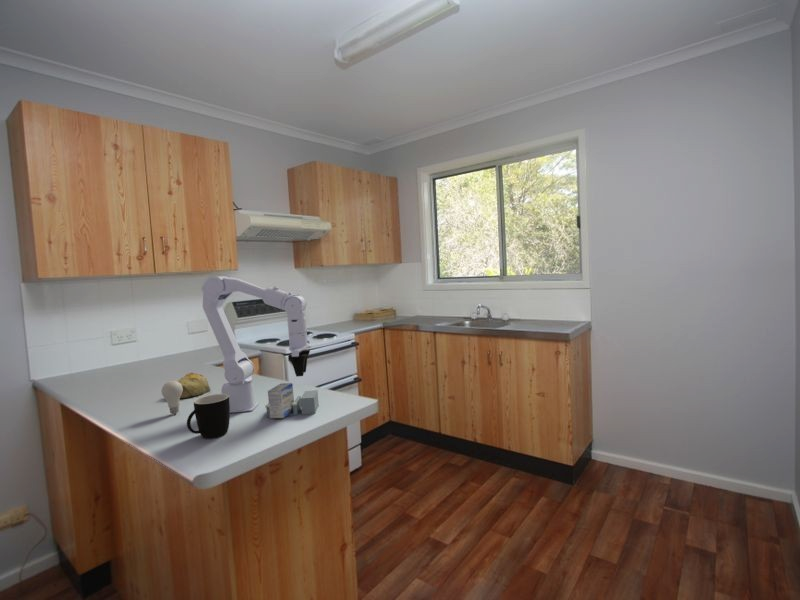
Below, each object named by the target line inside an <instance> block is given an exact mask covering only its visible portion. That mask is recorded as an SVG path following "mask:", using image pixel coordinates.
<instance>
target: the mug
mask: <svg viewBox="0 0 800 600" xmlns="http://www.w3.org/2000/svg"><path fill="white" fill-rule="evenodd" d="M193 408H194V409H193V411H191V413H189V415H188V417H187V419H186V427H187V429H188V431H189V432H190V433H192V434H197V435H198V434H200V436H201V437H202V438H203V439H207V440H209V439H210V440H211V439H216V438H221V437H222V436H225V435H226V434H227V433H228V431H229V428H230V417H231V416H230V415H231V414H230V403H229V396H228V395H227V394H221V393H217V394H215V393H214V394H209V395H204V396H201V397H198V398H196V399H195V400H194V401H193ZM194 416H195V421H196V424H197V428H198V430H195V429H193V428H192V424H191V423H192V419H193V417H194Z"/></svg>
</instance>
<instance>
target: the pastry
mask: <svg viewBox="0 0 800 600" xmlns="http://www.w3.org/2000/svg"><path fill="white" fill-rule="evenodd" d="M177 382H179V383H180V384H181V385H182V387H183V392H182V394H181V397H180V399H187V398H188V399H189V398H192V397H195V396H200V395H201V396H202V395H204V394H207V393H209V392H210V391H211V387H210V385H209V381H208V380H207V377H204V375H203V374H198V373H194V372H189V373H186V374H185V375H184V376H182V377H181V378H180V379H178V380H177Z"/></svg>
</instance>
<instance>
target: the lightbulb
mask: <svg viewBox="0 0 800 600" xmlns="http://www.w3.org/2000/svg"><path fill="white" fill-rule="evenodd" d="M182 392H183V387H182V385H181V384H180V383H179V382H178V380H170V381H167V382H166V383H164V384H163V385H162V387H161V395H162V397H163V398H164V399H165V400H166V403H167V405H168V406H167V407H168V408H169V413H170V414H172V415H177V413H179V412H180V408H179V407H180V399H181V398H180V397H181V394H182Z"/></svg>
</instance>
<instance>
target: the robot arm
mask: <svg viewBox="0 0 800 600" xmlns="http://www.w3.org/2000/svg"><path fill="white" fill-rule="evenodd" d="M201 291H202V292H203V293H202V308H203V311H204V313H205V316H206V318H207V320H208V322H209V325H210V327H211V330H212V331H213V334H214V337H215V338H216V342H217V343H218V346H219V348H220V350H221V352H222V355H223V357H224V359H223V363H222V366H223V369H224V379H225V380H226V382H225V383H223V384H222V386H221V393H220V394H227V395H228V396H229V403H230V413H242V412H243V413H244V412H245V413H246V412H252V411H253V410H254V409H255V408H256V407H257V406H258V405H259V402H257V401H255V395H254V394H255V391H254V384H253V383H254V381H253V378H252V375H253V374H254V372H255V364H254V363H253V361H252V360H250V359H249V357H248V355H247V354H246V353H245V352H244V351H242V349H241V347H240V344H239V343H238V341H237V338H236V336H235V334H234V332H233V329H232V327H231V324H230V322H229V320H228V318H227V316H226V312H225V311H224V308H223V305H224V304H225V302H226V300H227V298H228V297H230V296H231V295H232V294H233V293H235V292H240V293H242V294H247V295H250V296H253V297H255V298H260V299H262V301H263V303H264V304H265V305H268V306H271V307H274V308H275V309H276V308H277V309H279V310H282V311H284V312H286V316H287V327H288V329H287V330H288V341H289V346H288V348H289V349H288V350H289V351H290V353H291V354H288V355H287V357H288V360H289V361H290V362H291V365H292V366H293V370H294V374H295V376H296V377H303V376H304V375H305V374H304V373H306V371H307V367H308V358H309V355H310V352H311V350H310V349H312V344H309V343H308V331H307V329H308V328H307V318H306V311H305V310H306V307H307V300H306V298H305V297H303V296H302V295H300V294H294V295H293V292H291V291H288V292H287V291H284V290H281V289H280V287H278V286H270V287H268V288H264V287H261V286H258V285H256V284H254V283H252V282H248V281H246V280H244V279H241V278H238V277H235V276H234V277H231V276H229V275H222V276H217V275H216V276H215V275H212V276H209V277H207V278H205V281H204V283H203V285H202V286H201Z"/></svg>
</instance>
